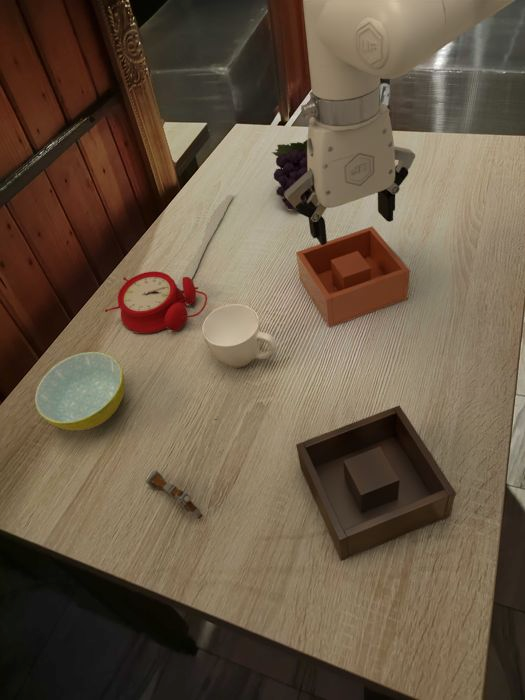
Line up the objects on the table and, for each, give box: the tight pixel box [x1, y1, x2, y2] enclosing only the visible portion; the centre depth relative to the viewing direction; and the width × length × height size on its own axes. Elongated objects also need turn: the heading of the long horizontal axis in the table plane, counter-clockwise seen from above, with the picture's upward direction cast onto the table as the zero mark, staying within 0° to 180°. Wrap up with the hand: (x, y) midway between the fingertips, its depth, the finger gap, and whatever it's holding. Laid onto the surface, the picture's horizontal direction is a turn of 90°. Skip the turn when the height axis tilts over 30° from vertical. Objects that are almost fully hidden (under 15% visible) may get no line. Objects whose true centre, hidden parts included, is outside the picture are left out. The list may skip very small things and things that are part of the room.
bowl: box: [34, 351, 125, 431], centre depth 71 cm, size 11×12×6 cm
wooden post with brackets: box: [145, 469, 204, 520], centre depth 62 cm, size 2×8×4 cm, turn 51°
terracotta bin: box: [295, 226, 411, 328], centre depth 80 cm, size 13×12×6 cm
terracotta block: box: [331, 251, 371, 291], centre depth 80 cm, size 4×4×4 cm
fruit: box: [272, 139, 312, 211], centre depth 97 cm, size 10×11×15 cm
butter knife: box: [176, 194, 234, 292], centre depth 95 cm, size 1×27×3 cm
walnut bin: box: [295, 405, 457, 561], centre depth 58 cm, size 13×12×6 cm
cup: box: [201, 303, 277, 369], centre depth 73 cm, size 8×10×7 cm
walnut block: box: [343, 446, 400, 513], centre depth 58 cm, size 4×4×4 cm
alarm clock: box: [104, 270, 208, 334], centre depth 83 cm, size 10×6×15 cm
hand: (353, 227), depth 73 cm, fingers open, 9 cm apart
